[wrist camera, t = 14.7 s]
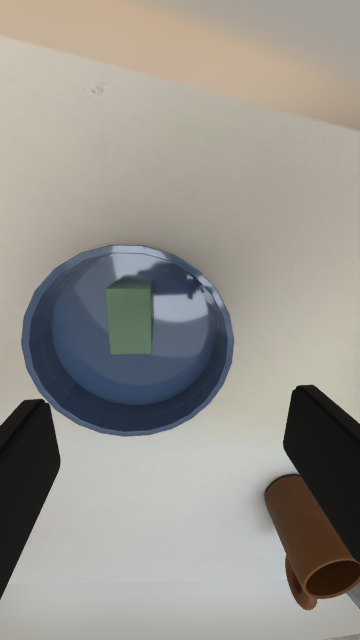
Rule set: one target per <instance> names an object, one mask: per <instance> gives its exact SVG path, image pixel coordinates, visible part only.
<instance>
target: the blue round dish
mask: <svg viewBox="0 0 360 640" xmlns="http://www.w3.org/2000/svg"><path fill="white" fill-rule="evenodd" d="M117 280H149V281H152V296H153V343H152V353H151V354H110V342H109V330H108V317H107V305H106V293H105V288H107V287H108V286H110V285H111V284H113V283H114V282H115V281H117ZM21 343H22V349H23V354H24V359H25V363H26V368H27V370H28V372H29V374H30V376H31V378H32V380H33V382H34V384H35V385H36V387H37V389H38V391H39V392H40V393H41V395H42V396H43V397H44V398H45V399H46V400H47V401H48V402H49V403H50V404H51V405H52V406H53V407H54V408H55V410H57V411H58V412H59V413H61V414H63V415H64V416H66V417H67V418H69V419H70V420H72V421H73V422H75V423H76V424H78V425H81V426H83V427H86V428H89V429H91V430H94V431H97V432H99V433H104V434H110V435H117V436H124V437H125V436H143V435H151V434H155V433H159V432H162V431H166V430H170V429H173V428H175V427H177V426H179V425H181V424H182V423H184V422H186V421H188V420H190V419H192V418H193V417H194V416H196V415H197V414H198V413H199V412H200V411H201V410H203V409H204V408H205V407H206V406H207V405H208V404H210V402H211V401H212V400H213V398H214V397H215V396H216V394H217V393H218V391H219V390H220V389H221V387H222V386H223V384H224V382H225V379H226V377H227V374H228V371H229V369H230V366H231V364H232V355H233V345H234V336H233V331H232V326H231V320H230V315H229V313H228V311H227V309H226V307H225V305H224V303H223V301H222V299H221V297H220V295H219V293H218V291H217V290H216V289H215V288H214V286H213V285H212V284H211V283H210V282H209V281H208V280H207V279H206V278H205V277H204V276H203V274H202V273H201V272H200V271H199V270H197V269H196V268H194V267H193V266H191V265H189V264H188V263H186V262H185V261H183V260H181V259H180V258H178V257H177V256H175V255H173V254H170V253H167V252H163V251H160V250H157V249H153V248H150V247H147V246H141V245H109V246H105V247H102V248H98V249H94V250H90V251H86V252H82V253H80V254H78V255H76V256H75V257H73V258H71V259H70V260H68V261H67V262H65V263H63V264H62V265H60V266H58V267H57V268H55V269H54V270H53V271H52V272H51V273H50V274H49V276H48V277H47V278H46V279H45V280H44V281H43V282H42V283H41V285H40V286H39V287H38V288H37V289H36V291H35V292H34V294H33V297H32V299H31V301H30V304H29V306H28V308H27V310H26V313H25V315H24V320H23V330H22V341H21Z"/></svg>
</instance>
